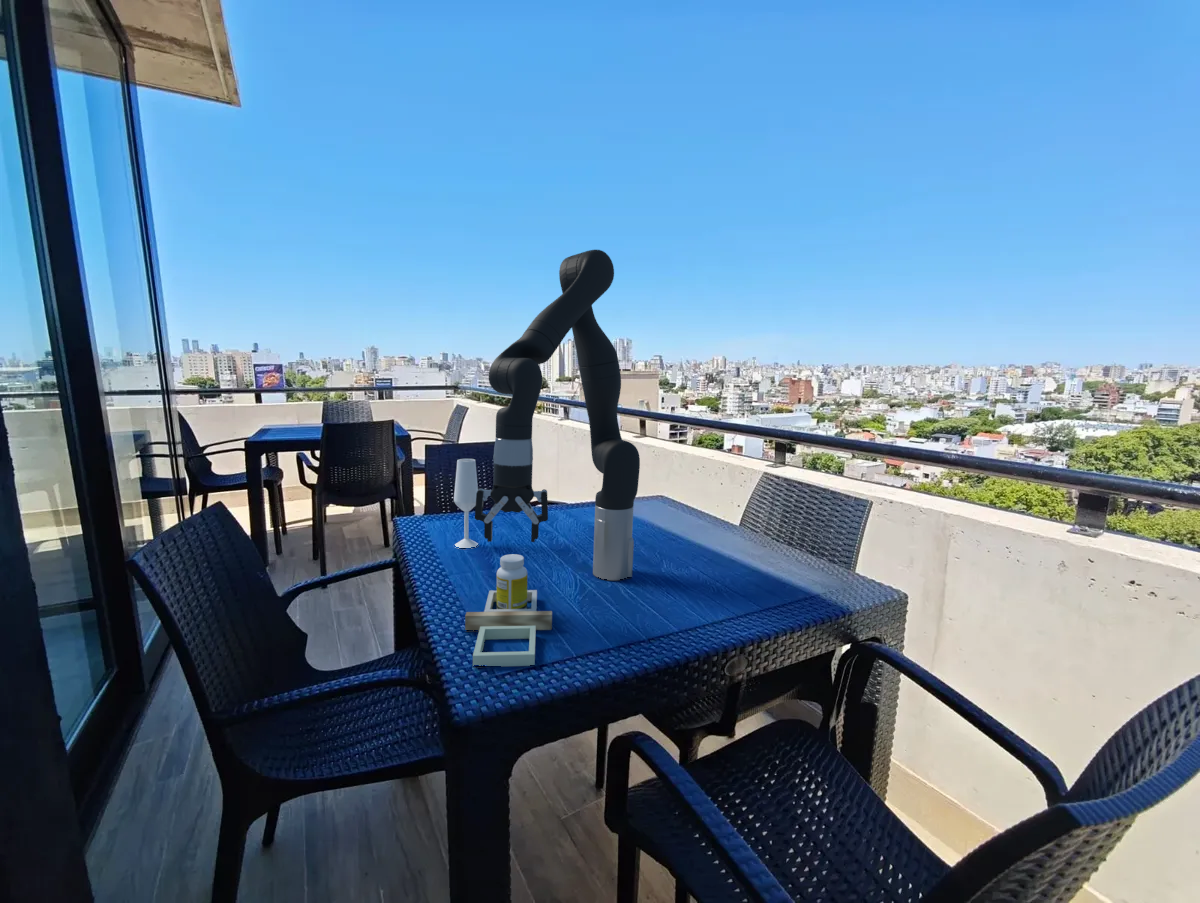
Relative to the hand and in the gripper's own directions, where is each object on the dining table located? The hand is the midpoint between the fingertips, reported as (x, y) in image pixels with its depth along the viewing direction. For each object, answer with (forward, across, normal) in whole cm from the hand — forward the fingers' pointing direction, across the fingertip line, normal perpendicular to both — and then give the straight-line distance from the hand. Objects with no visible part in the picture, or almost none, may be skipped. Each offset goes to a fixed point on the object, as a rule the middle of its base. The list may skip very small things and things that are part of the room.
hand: (511, 540), depth 104 cm
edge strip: (+14, 0, +8) cm, 17 cm away
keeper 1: (+14, 0, 0) cm, 15 cm away
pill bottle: (+15, 0, 0) cm, 15 cm away
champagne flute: (+15, +15, -41) cm, 46 cm away
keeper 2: (+15, 0, +16) cm, 22 cm away
